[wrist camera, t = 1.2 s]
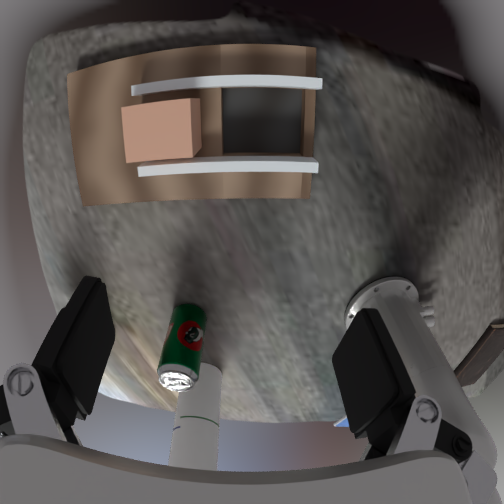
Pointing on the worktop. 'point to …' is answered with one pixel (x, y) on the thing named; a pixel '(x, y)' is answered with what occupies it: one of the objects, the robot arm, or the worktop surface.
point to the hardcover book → (481, 355)
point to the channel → (227, 161)
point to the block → (162, 130)
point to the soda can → (183, 348)
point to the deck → (212, 122)
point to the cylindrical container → (198, 423)
